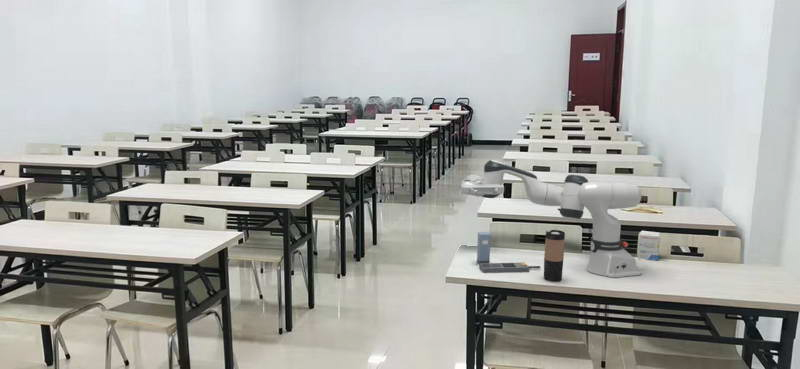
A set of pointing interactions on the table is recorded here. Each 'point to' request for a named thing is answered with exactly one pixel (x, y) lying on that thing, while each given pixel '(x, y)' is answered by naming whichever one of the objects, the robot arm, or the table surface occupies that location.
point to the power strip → (504, 267)
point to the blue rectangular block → (483, 247)
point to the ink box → (649, 245)
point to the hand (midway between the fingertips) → (486, 192)
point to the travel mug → (554, 255)
